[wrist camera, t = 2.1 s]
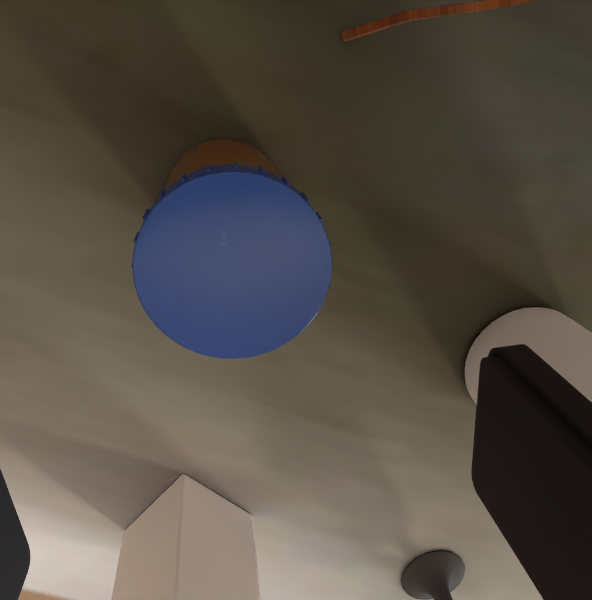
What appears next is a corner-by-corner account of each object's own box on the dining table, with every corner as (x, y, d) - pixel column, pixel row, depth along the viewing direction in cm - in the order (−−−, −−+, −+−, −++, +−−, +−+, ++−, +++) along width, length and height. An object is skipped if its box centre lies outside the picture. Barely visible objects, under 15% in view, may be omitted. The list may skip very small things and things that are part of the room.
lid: (320, 152, 18) (329, 159, 17) (329, 329, 21) (337, 347, 20) (118, 171, 18) (110, 180, 16) (154, 351, 20) (150, 372, 19)
